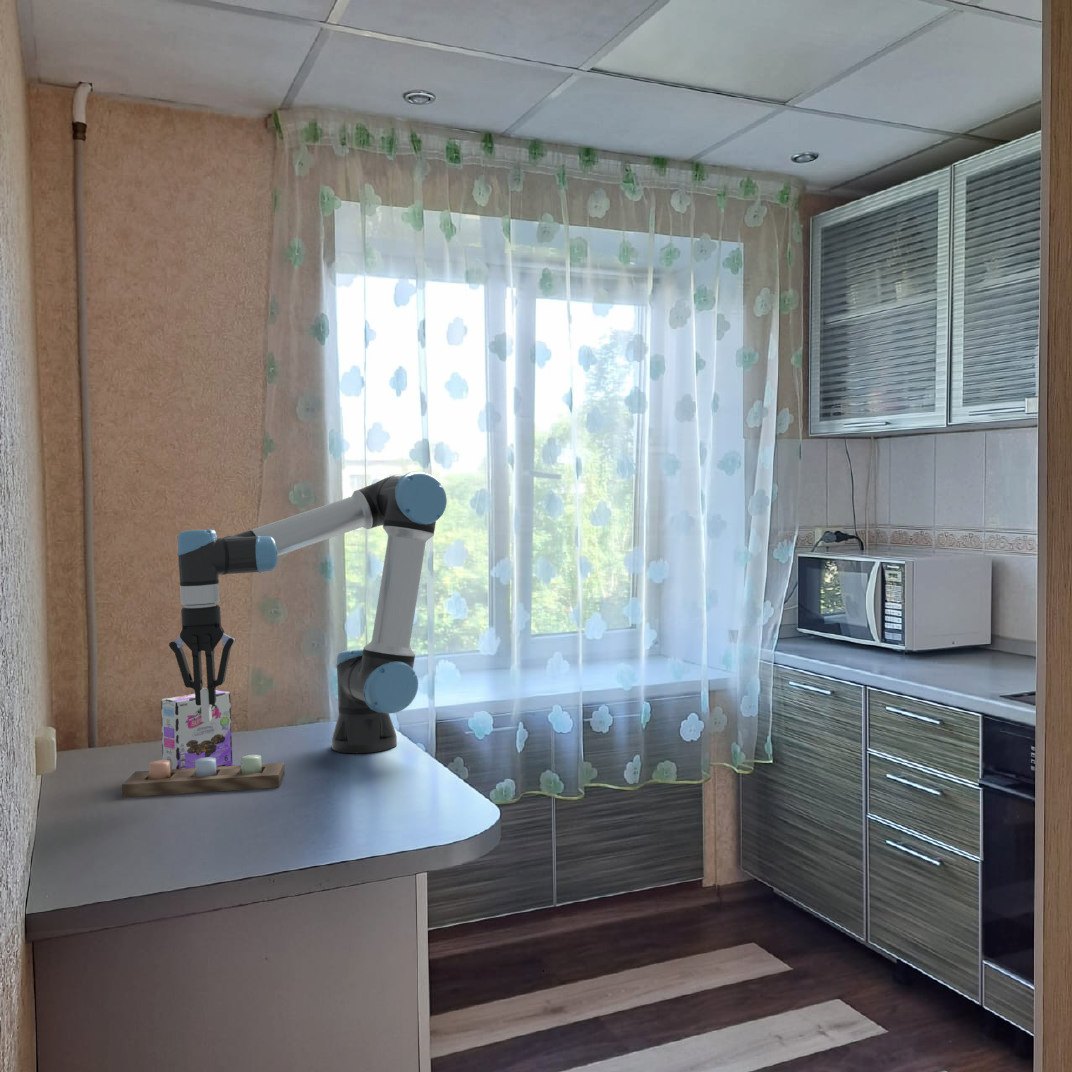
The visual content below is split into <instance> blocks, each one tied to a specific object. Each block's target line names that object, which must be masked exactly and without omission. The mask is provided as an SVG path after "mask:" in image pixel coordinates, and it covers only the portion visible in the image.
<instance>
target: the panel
mask: <svg viewBox="0 0 1072 1072" xmlns="http://www.w3.org/2000/svg"><path fill="white" fill-rule="evenodd" d="M261 767H262V773H251V774H241V764H240V765H228V766H221V767H216V776H201V777H196V768H187V769H170V774H171V778H168V779H152V780H150V779H149V770H141V771H140V770H139V771H134V772H133V773H132V774H131V775H130V776H129V777H128V778H127V779H126V780H125V781H124V782H123V783H122V785H121V787H122V789H121V790H122V794H121V795H122V798H130V797H144V796H145V797H146V796H161V795H176V794H177V795H178V794H191V793H192V794H193V793H194V794H195V793H207V792H210V793H211V792H222V791H223V792H225V791H241V790H243V791H244V790H258V789H271V788H272V789H273V788H280V786H281V784H282V782H283V779H284V777H285V775H286V773H285V762H274V763H272V762H271V763H261Z"/></svg>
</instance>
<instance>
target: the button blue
mask: <svg viewBox="0 0 1072 1072" xmlns="http://www.w3.org/2000/svg"><path fill="white" fill-rule="evenodd" d="M195 768H196V777H201V776H216V758H213V757H206V758H200V759H197V760H195Z"/></svg>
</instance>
